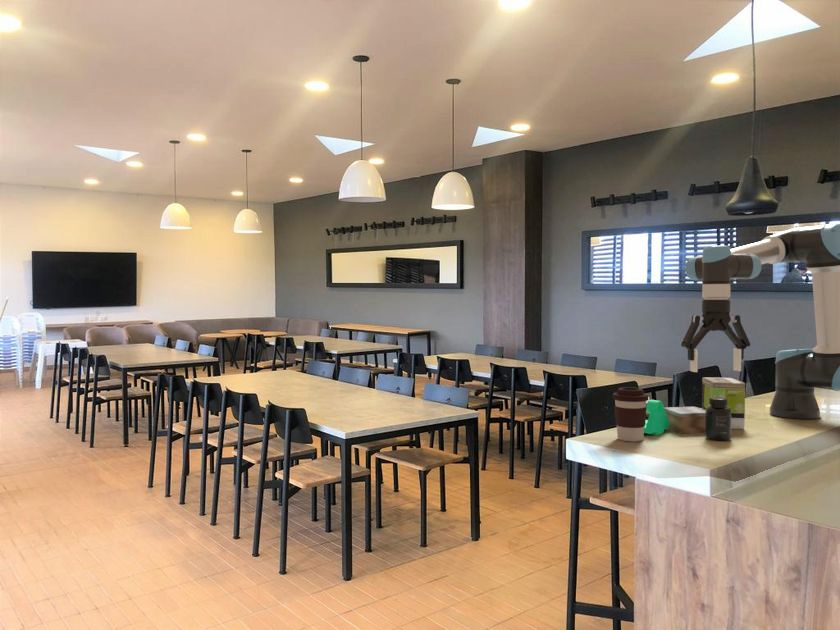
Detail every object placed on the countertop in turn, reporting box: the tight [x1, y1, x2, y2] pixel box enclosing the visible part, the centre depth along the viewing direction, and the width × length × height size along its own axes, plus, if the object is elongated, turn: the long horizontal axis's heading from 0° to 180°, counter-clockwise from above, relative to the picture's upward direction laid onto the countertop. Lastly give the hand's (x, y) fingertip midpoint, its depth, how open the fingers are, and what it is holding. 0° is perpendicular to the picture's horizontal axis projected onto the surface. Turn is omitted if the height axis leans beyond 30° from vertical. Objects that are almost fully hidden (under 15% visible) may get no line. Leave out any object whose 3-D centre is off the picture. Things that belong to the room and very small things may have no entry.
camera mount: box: [644, 399, 669, 436], centre depth 200 cm, size 12×8×10 cm, turn 133°
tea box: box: [701, 376, 746, 430], centre depth 210 cm, size 15×10×15 cm, turn 168°
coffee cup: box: [612, 386, 649, 443], centre depth 190 cm, size 10×10×15 cm
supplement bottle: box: [705, 397, 732, 442], centre depth 189 cm, size 7×7×12 cm
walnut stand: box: [664, 406, 706, 434], centre depth 204 cm, size 11×11×6 cm
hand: (715, 371), depth 189 cm, fingers open, 13 cm apart
